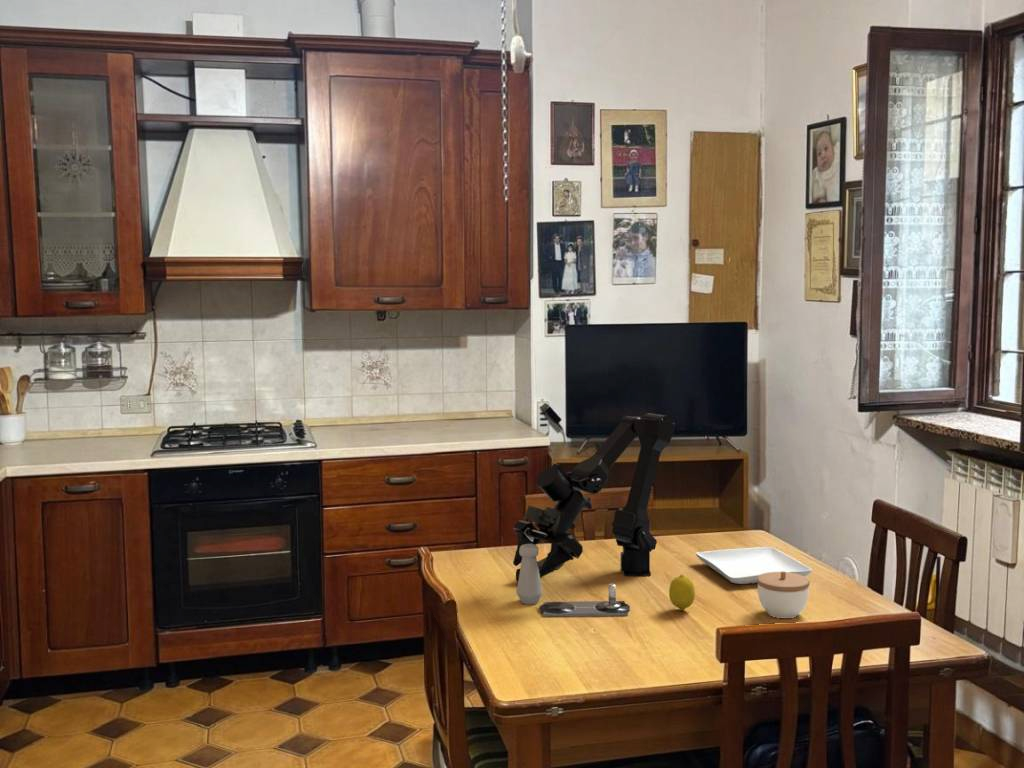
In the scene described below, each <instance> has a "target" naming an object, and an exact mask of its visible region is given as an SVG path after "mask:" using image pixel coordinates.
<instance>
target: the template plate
mask: <svg viewBox="0 0 1024 768" xmlns="http://www.w3.org/2000/svg"><path fill="white" fill-rule="evenodd" d="M606 602H609V600H589V601H588V600H587V601H586V600H585V601H583V600H582V601H579V600H577V601H574V600H573V601H543V602H542V604H541V605H540V606H539V612H540V613H541V614H543V617H544V618H545V617H546V618H547V617H548V618H551V617H555V618H557V617H563V618H565V617H628V616H629V612H630V611H631V606H630V605H629V604H628V603H625V600H616V602H618V603H620V604H621V608H619V609H616V610H609V609H606V608H604V603H606Z"/></svg>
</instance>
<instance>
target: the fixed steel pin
mask: <svg viewBox="0 0 1024 768" xmlns="http://www.w3.org/2000/svg"><path fill="white" fill-rule="evenodd" d="M608 601H609V602H606V603H604V608H606V609H609V610H616V609H619V608H621V604H620V603H618V602H616V601H617V585H616V584H615V583H609V584H608Z"/></svg>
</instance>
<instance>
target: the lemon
mask: <svg viewBox="0 0 1024 768" xmlns="http://www.w3.org/2000/svg"><path fill="white" fill-rule="evenodd" d="M668 595H669V600H670V602H671V604H672V605H673V606H674V607H675V608H678V609H679V610H680V611H682V612H683V611H684V610H686V609H687V608H689V607H691V606H692V604H693V603H694V601H695V598H696V589H695V585H694V582H693V581H692V580H691V579H690V578H689V577H688V576H685V575H684V574H680V575H678V576H676V577H675V578H674V579H672V580H671V582H670V585H669V590H668Z"/></svg>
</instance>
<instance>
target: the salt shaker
mask: <svg viewBox="0 0 1024 768" xmlns="http://www.w3.org/2000/svg"><path fill="white" fill-rule="evenodd" d="M539 551H540V549H539V547H538V545H537V544H536V545H534V544H524V545H521V546H520V549H519V554H520V556H522V562H521V563H520V568H519V569H520V574H519V581H518V582H517V588H516V596H517V597H518V598H519V600H520V602H521V604H524V605H529V606H532V605H537V604H538V603H539V602H540V599H541V598H542V595H543V586H542V581H541V576H540V575H539V569H538V564H537V562H538V560H537V556H538V555H539V553H540V552H539Z"/></svg>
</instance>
